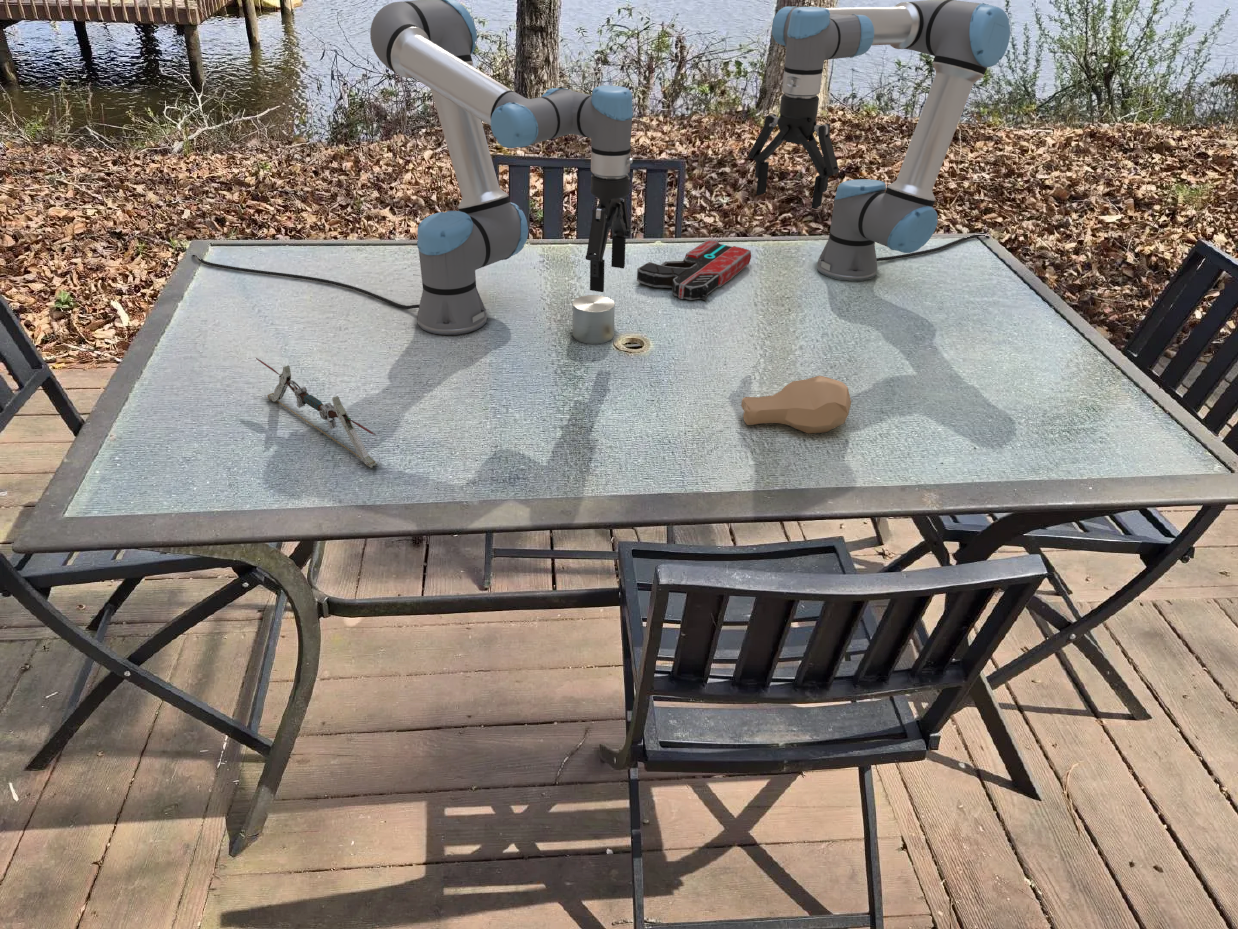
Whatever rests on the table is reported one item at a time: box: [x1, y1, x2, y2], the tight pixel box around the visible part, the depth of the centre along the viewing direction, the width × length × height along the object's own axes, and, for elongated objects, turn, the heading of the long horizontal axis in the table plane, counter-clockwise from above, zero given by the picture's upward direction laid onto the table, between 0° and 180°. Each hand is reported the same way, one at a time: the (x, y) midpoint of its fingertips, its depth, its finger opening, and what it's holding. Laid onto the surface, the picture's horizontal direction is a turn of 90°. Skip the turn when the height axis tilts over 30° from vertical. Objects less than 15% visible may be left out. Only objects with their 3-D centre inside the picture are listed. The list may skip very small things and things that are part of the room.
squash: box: [740, 375, 852, 434], centre depth 161 cm, size 11×20×9 cm, turn 90°
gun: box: [636, 239, 752, 301], centre depth 222 cm, size 4×31×19 cm
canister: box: [572, 294, 616, 345], centre depth 191 cm, size 9×9×8 cm
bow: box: [255, 357, 378, 469], centre depth 154 cm, size 39×2×10 cm, turn 47°
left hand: (607, 278), depth 180 cm, fingers open, 13 cm apart
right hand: (788, 200), depth 187 cm, fingers open, 13 cm apart
